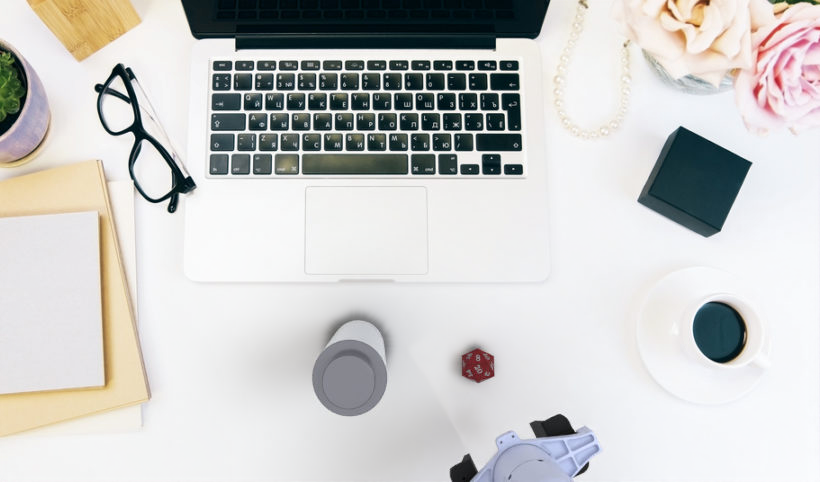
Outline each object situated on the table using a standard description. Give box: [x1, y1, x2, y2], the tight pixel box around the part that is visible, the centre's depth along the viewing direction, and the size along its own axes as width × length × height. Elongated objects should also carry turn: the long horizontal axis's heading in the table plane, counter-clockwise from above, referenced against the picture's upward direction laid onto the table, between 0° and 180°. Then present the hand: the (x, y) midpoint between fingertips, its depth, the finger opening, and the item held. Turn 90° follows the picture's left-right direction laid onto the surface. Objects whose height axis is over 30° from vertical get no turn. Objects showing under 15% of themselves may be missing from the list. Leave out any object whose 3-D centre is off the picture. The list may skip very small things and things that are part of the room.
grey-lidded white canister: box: [311, 319, 388, 417], centre depth 60 cm, size 6×6×24 cm
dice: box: [461, 347, 496, 384], centre depth 70 cm, size 4×4×4 cm
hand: (503, 447), depth 61 cm, fingers open, 7 cm apart
